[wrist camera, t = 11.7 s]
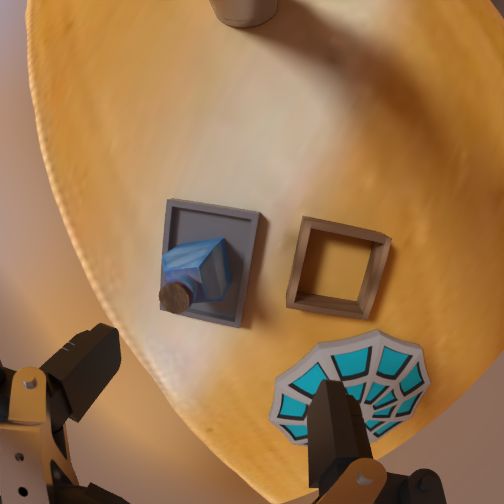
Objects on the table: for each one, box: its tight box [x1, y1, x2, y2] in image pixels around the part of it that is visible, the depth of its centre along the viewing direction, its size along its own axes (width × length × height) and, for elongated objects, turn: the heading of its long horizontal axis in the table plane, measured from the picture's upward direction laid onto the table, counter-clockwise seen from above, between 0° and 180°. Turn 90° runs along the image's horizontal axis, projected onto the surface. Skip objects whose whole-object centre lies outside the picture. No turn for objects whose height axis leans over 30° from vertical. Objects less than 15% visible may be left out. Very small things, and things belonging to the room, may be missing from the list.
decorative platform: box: [269, 329, 431, 447], centre depth 39 cm, size 31×29×5 cm
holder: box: [286, 216, 392, 320], centre depth 34 cm, size 11×11×4 cm
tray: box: [160, 198, 260, 328], centre depth 37 cm, size 16×12×2 cm
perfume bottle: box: [159, 238, 232, 314], centre depth 31 cm, size 6×6×12 cm
